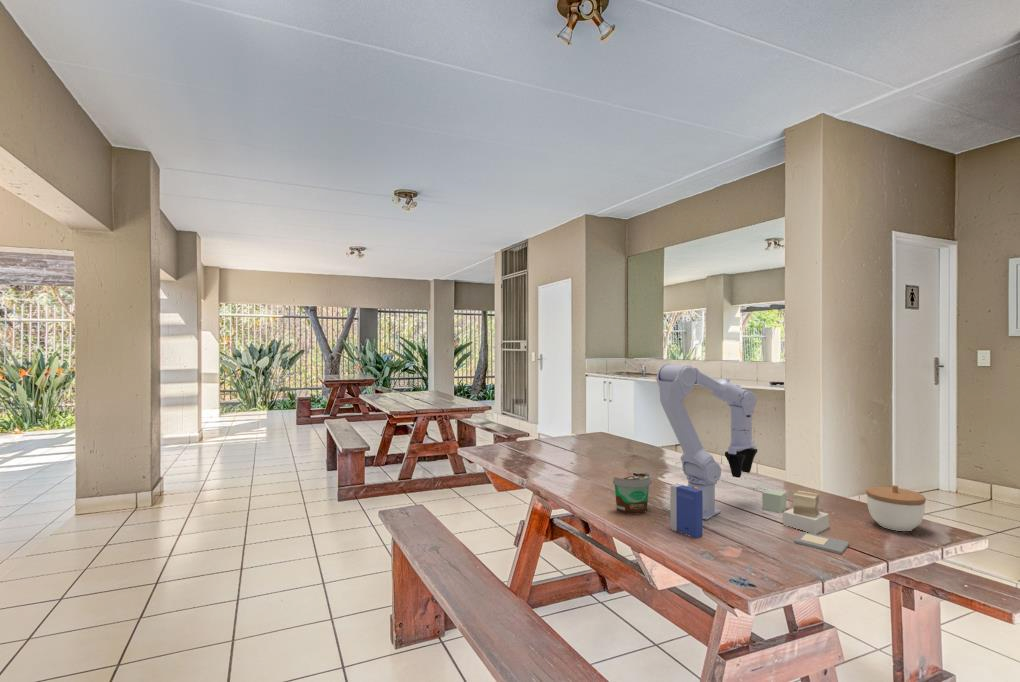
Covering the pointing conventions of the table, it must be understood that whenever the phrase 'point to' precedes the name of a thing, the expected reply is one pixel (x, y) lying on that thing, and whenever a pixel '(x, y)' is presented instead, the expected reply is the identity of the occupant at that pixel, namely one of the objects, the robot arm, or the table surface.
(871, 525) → the table surface
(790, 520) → the base block
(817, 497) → the birch cube
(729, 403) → the robot arm
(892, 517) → the lidded bowl
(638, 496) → the food container
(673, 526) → the walkman
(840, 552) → the card
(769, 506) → the sage cube
